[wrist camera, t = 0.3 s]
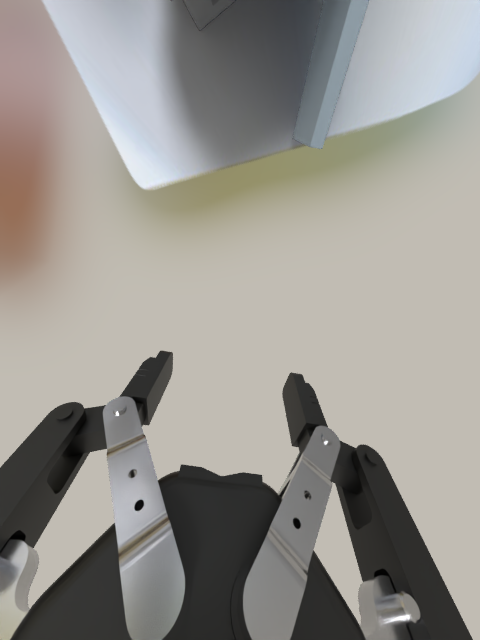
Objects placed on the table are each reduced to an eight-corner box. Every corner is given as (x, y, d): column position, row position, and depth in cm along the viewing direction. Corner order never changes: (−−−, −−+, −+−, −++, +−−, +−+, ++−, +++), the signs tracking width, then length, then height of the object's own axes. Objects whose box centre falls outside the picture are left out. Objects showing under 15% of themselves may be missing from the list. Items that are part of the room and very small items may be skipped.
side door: (291, 138, 25) (309, 147, 18) (343, -95, 15) (429, -282, 8) (306, 140, 26) (331, 150, 18) (368, -89, 16) (474, -267, 8)
